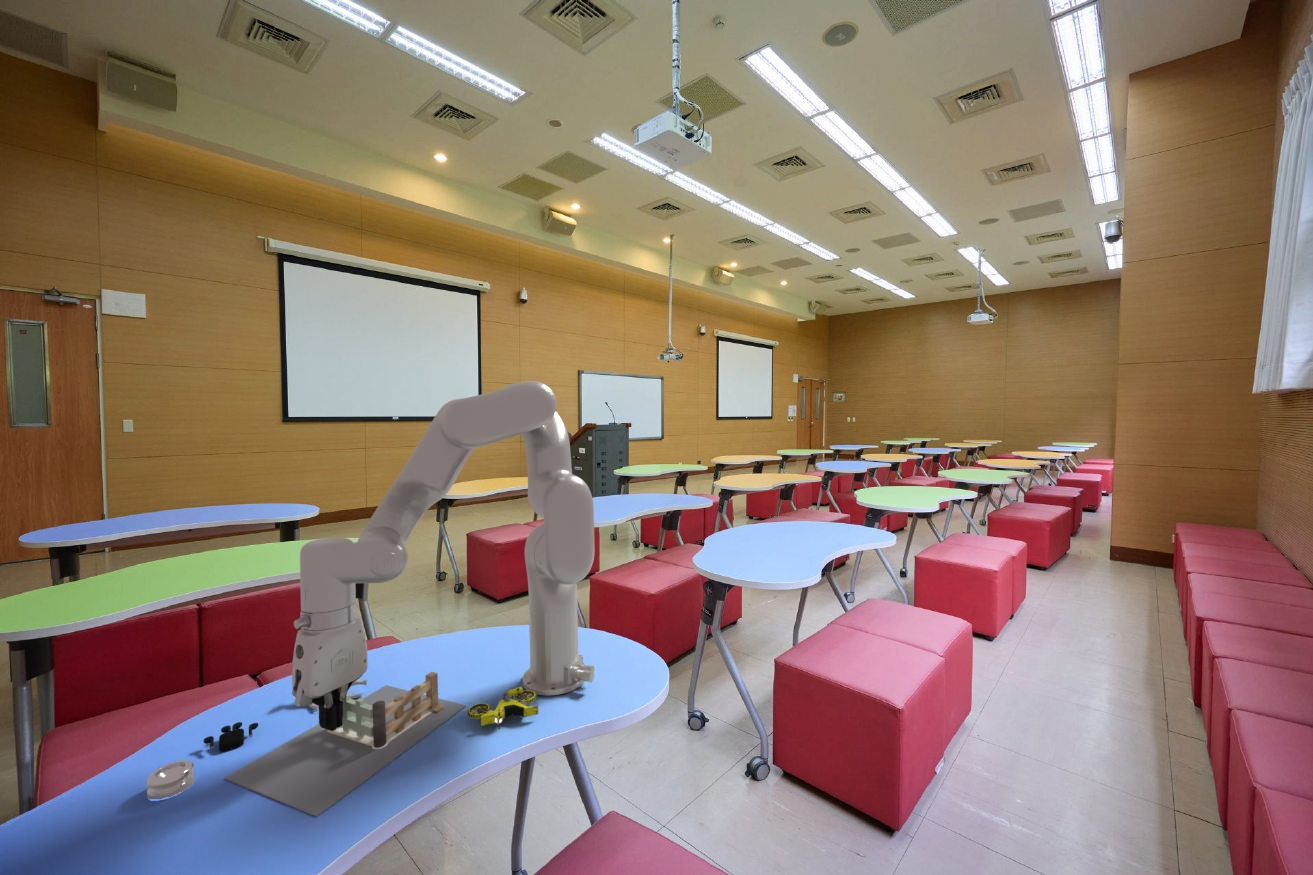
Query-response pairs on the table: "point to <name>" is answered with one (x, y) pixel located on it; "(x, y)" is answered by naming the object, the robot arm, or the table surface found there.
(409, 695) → the fence fixed section
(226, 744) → the wireless earbuds
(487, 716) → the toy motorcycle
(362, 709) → the fence swing section
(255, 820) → the table surface
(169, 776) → the grooved metal pulley
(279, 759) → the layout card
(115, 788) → the table surface
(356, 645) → the robot arm
